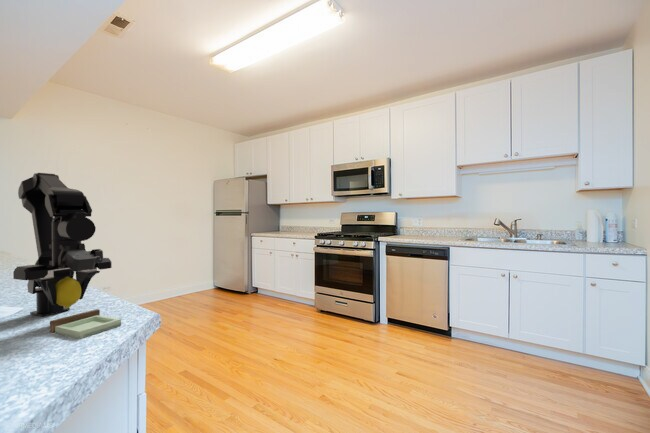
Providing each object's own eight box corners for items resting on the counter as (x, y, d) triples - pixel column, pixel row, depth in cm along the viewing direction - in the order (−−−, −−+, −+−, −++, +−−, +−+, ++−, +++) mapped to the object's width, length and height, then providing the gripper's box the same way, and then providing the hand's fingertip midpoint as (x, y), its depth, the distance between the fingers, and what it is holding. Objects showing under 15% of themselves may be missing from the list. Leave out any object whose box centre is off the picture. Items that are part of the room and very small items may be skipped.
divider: (49, 332, 71) (49, 321, 71) (96, 318, 81) (96, 309, 81) (52, 332, 71) (52, 321, 71) (99, 319, 80) (99, 309, 80)
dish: (55, 333, 71) (55, 326, 71) (97, 321, 79) (97, 315, 79) (79, 338, 67) (79, 331, 67) (121, 325, 75) (121, 319, 75)
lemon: (65, 311, 76) (65, 278, 76) (47, 311, 77) (46, 278, 77) (87, 305, 81) (86, 274, 81) (69, 304, 82) (69, 274, 82)
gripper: (38, 243, 67) (39, 316, 67) (124, 238, 84) (125, 296, 84) (11, 242, 72) (12, 310, 71) (98, 237, 89) (99, 292, 89)
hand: (67, 301), depth 79 cm, fingers closed on lemon, 5 cm apart
